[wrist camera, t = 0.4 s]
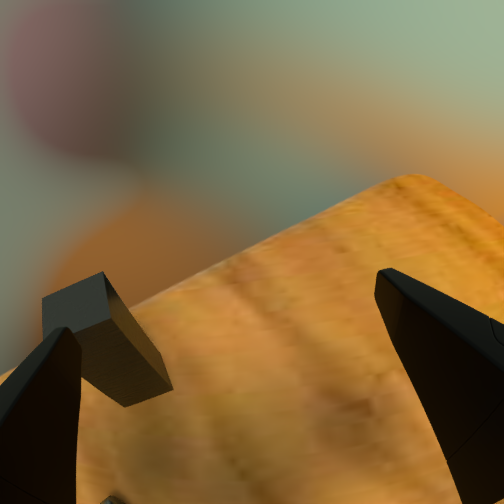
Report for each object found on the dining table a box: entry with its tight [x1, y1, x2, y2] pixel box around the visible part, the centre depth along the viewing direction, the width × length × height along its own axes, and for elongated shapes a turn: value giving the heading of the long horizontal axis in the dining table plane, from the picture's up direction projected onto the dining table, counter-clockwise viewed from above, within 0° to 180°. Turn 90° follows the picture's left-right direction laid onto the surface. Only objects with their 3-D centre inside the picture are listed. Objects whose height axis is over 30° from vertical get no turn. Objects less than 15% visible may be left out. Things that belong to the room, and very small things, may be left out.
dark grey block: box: [42, 271, 173, 407], centre depth 19 cm, size 4×4×11 cm
